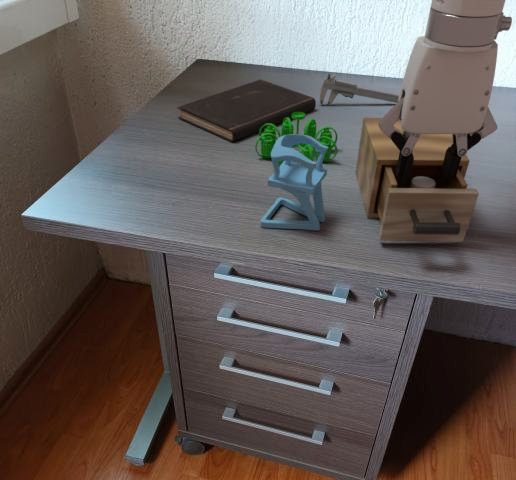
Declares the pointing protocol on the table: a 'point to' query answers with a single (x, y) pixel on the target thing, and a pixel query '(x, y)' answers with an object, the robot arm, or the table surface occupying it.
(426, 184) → the white cylinder
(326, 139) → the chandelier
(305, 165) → the chair
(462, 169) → the cabinet
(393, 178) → the drawer
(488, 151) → the table surface
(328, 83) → the caliper
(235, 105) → the hardcover book
